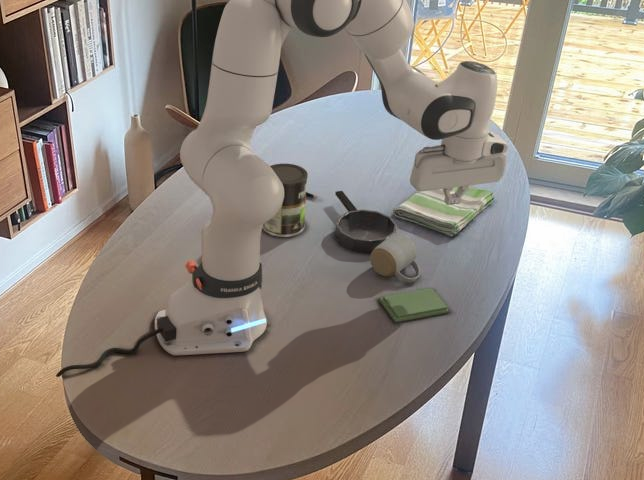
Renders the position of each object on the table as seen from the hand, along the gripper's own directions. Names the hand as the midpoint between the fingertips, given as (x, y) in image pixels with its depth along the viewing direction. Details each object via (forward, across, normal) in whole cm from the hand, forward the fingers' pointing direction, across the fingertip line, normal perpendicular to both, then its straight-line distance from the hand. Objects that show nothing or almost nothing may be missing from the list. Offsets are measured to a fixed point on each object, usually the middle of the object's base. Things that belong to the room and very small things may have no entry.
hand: (451, 203), depth 174 cm
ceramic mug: (+16, -10, 0) cm, 19 cm away
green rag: (+16, -12, -12) cm, 24 cm away
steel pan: (+16, -11, +21) cm, 29 cm away
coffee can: (+16, -28, +26) cm, 42 cm away
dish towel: (+16, +13, +23) cm, 30 cm away
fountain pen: (+16, -20, +41) cm, 48 cm away
